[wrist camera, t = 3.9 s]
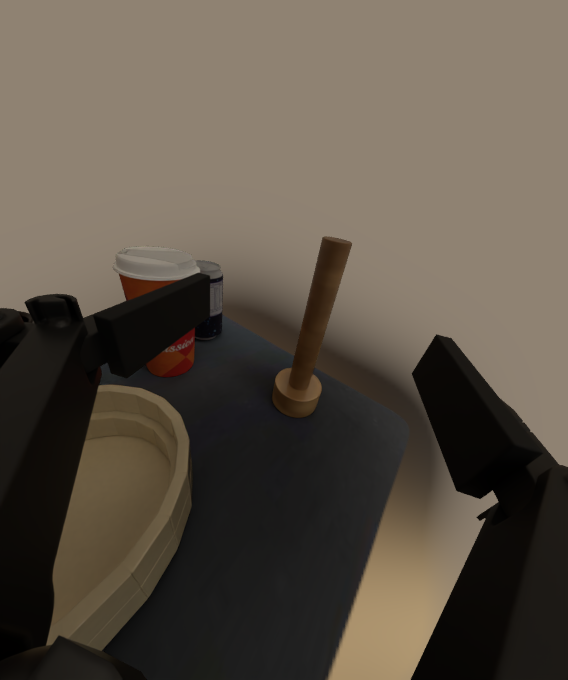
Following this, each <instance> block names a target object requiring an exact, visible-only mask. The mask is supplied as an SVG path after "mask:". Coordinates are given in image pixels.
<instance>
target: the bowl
mask: <svg viewBox="0 0 568 680" xmlns="http://www.w3.org/2000/svg"><path fill="white" fill-rule="evenodd" d="M192 487H193V470H192V460H191V451H190V441H189V437H188V434H187V431H186V428H185V425H184V422H183V419H182V417H181V415H180V414H179V413H178V412H177V411H176V410H175V409H174V408H173V407H172V406H171V405H170V404H169V403H168V402H167V401H166V399H164V398H163V397H160V396H158V395H156V394H154V393H151V392H149V391H147V390H144V389H142V388H135V387H128V386H121V385H100V386H99V387H98V391H97V395H96V399H95V403H94V407H93V411H92V415H91V419H90V423H89V427H88V431H87V435H86V439H85V443H84V447H83V451H82V455H81V459H80V463H79V467H78V471H77V475H76V479H75V483H74V487H73V491H72V495H71V499H70V503H69V507H68V511H67V515H66V519H65V523H64V527H63V531H62V535H61V539H60V543H59V547H58V551H57V555H56V559H55V563H54V568H53V586H54V593H55V597H54V610H53V616H52V622H51V626H50V631H49V635H48V640H47V644H46V646H47V645H52V644H53V643H54V641H55V640H56V638H57V637H58V635H60V636H62V637H65V638H68V639H71V640H73V641H76V642H79V643H81V644H84V645H87V646H89V647H92V648H95V649H98V650H100V651H102V650H103V649H104V648H105V646H106V645H107V644H108V643H109V642H110V641H111V640H112V638H113V637H114V636H115V635H116V634H117V633H118V632H119V631H120V629H121V628H122V627H123V626H124V625H125V624H126V623H127V622H128V620H129V619H130V618H131V617H132V616H133V615H134V614H135V613H136V611H137V610H138V609H139V608H140V607H141V606H142V605H143V603H144V602H145V601H146V600H147V599H148V597H149V596H150V595H151V593H152V591H153V590H154V588H155V586H156V584H157V583H158V581H159V579H160V578H161V576H162V574H163V573H164V571H165V569H166V568H167V566H168V564H169V562H170V561H171V559H172V557H173V556H174V554H175V552H176V551H177V549H178V546H179V543H180V540H181V537H182V534H183V531H184V528H185V525H186V522H187V519H188V516H189V513H190V510H191V506H192Z"/></svg>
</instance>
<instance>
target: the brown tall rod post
mask: <svg viewBox="0 0 568 680" xmlns="http://www.w3.org/2000/svg"><path fill="white" fill-rule="evenodd" d="M351 246H352V243H351V242H349V241H346V240H342V239H339V238H333V237H323V238H322V243H321V247H320V251H319V255H318V259H317V263H316V268H315V272H314V276H313V280H312V285H311V289H310V293H309V297H308V301H307V306H306V310H305V314H304V318H303V323H302V327H301V331H300V335H299V339H298V344H297V348H296V352H295V356H294V360H293V365H292V368H287V369H284V370H282V371H281V372H279V373H278V375H277V376H276V379H275V384H274V389H273V394H272V400H273V403H274V405H275V407H276V408H277V409H278V410H279V411H280V412H282V413H283V414H285V415H287V416H290V417H295V418H302V417H306V416H308V415H310V414H311V413H313V411H314V410H315V408H316V405H317V402H318V400H319V397H320V394H321V391H322V387H321V383H320V381H319V380H318V378H317V377H316V376H315V375H313V374H312V373H313V370H314V367H315V363H316V360H317V356H318V353H319V350H320V347H321V344H322V340H323V337H324V334H325V331H326V328H327V324H328V321H329V318H330V314H331V311H332V308H333V305H334V301H335V298H336V294H337V291H338V288H339V285H340V281H341V278H342V275H343V272H344V269H345V265H346V262H347V259H348V256H349V252H350V249H351Z"/></svg>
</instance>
